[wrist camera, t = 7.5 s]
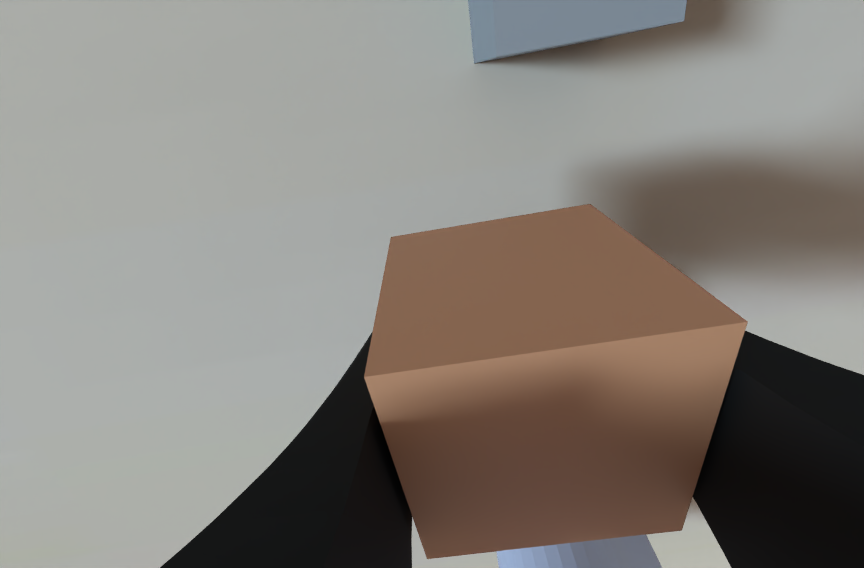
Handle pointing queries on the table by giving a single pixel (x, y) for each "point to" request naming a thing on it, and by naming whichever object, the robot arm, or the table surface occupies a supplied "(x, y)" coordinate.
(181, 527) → the table surface
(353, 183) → the table surface
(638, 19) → the slate block
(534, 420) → the orange block
